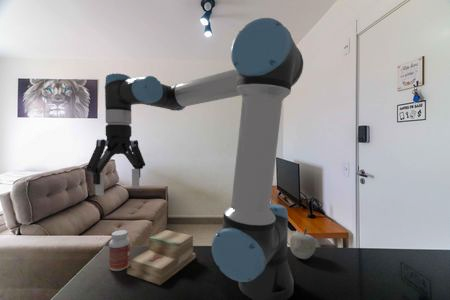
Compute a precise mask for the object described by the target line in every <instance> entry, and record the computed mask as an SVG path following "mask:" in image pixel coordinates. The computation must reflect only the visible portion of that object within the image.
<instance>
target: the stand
mask: <svg viewBox="0 0 450 300" xmlns="http://www.w3.org/2000/svg"><path fill="white" fill-rule="evenodd" d="M148 240H149V249H148V250H146V251H144V252H142V253H141V254H139V255H137V256H135V257H133V258H132V259H131V258H130V266H129V267H127V268H126V274H127V275H130V276H133V277H135V278H138V279H141V280H144V281H146V282H150V283H153V284H156V285H158V286H161V285H162V284H164V283H166V281H168V280H169V279H170V278H172V276H175V274H177V273H178V272H179V271H181V270H182V269H183V268H184V267H185V266H187V265H188V264H190V263H191V262H192V261H193V260H195V258H197V257H196V255H197V254H196V253H195V252H193V251H194V236H193V235H192V234H187V233H182V232H177V231H174V230H173V231H172V230H167V229H164V230H163V231H160V232H158V233H156V234H154V235H152V236H150V237H149V239H148Z"/></svg>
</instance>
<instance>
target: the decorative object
mask: <svg viewBox="0 0 450 300" xmlns="http://www.w3.org/2000/svg"><path fill="white" fill-rule="evenodd" d="M289 246H290V247H289V248H290V251H291V253H292V254H293V255H294V256H295V257H297V258H298V259H302V260H307V259H310V258H311V257H312V255H313V254H314V253H315V252H316V248H317V240H316V239H315V237H314V236H312V235H310V234H307V228H304V230H303V232H301V231H295V232H293V233H292V234H291V235H290V238H289Z"/></svg>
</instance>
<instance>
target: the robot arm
mask: <svg viewBox="0 0 450 300" xmlns="http://www.w3.org/2000/svg"><path fill="white" fill-rule="evenodd" d="M230 58H231V62H232V65H233V67H234V68H233V69H231V70H226V71H223V72H218V73H216V74H212V75H209V76H204V77H201V78H197V79H194V80H190V81H186V82H181V83H178V84H175V85H166V84H163V83H161V81H160V80H158V78H156V77H155V76H153V75H142V76H139V77H135V78H134V77H133V78H131V77H130V76H129V75H127V74H123V73H118V72H117V73H108V74H107V75H106V76H105V82H104V83H105V84H104V93H105V94H104V96H105V97H104V98H105V101H104V103H105V124H106V125H105V136H106V140H105V138H103V139H96V142H95V148H94V150H93V153H92V155H91V157H90V159H89V162H88V164H87V165H86V168H85V171H86V172H89V173H92V183H93V185H94V187H95V189H94V191H95V193H94V195H95V196H99V197H103V196H105V182H104V181H105V179H104V178H105V177H104V176H105V175H104V172H102V171H103V170H104V169H105V167H106V166H107V165H108V163H109V162H110V160H111V159H112V158H113V156H115V155H124V156H125V158H126V159H127V160H128V162H129V163H130V164H131V165H132V167H133V168H131V188H132V189H134V188H135V189H139V188H140V178H141V169H142V170H143V169H144V167H145V166H146V162H145V160H144V157H143V155H142V152H141V149H140V147H139V141H138V140H137V139H131V137H132V125H131V124H132V105H133V106H134V105H146V106H151V107H156V108H160V109H165V110H170V111H182V110H184V109H185V108H186V107H189V106H195V105H199V104H205V103H209V102H210V103H211V102H214V101H219V100H225V99H229V98H235V97H239V96H241V98H242V101H241V109H240V120H239V129H238V139H237V148H236V156H235V157H236V158H235V165H234V166H235V167H234V174H233V186H232V194H231V203H230V204H229V205H228V206H227V207H225V208H224V210H223V216H222V217H223V219H222V225H221V226H222V227H221V229H220V230H218V232H217V233H216V234H215V235H214V237H213V239H212V243H211V254H212V257H213V260H214V262H215V264H216V266H218V268H219V270H220V271H221V272H222V274H224V275H225V276H226V277H228V278H229V279H231V280H233V281H236V282H238V287H239V290H240V292H241V293H242V294H243V295H245V296H246V297H247V298H249V299H251V300H289V299H290V298H291V297H292V296H293V294H294V289H295V288H294V284H295V283H294V278H293V275H292V271H291V269H290V266H289V261H288V235H289V234H288V232H289V231H288V229H289V227H288V226H289V215H288V209H287V207H285V206H284V205H282V204H278V203H273V202H271V201H272V200H271V199H272V191H273V182H274V176H275V175H274V174H275V166H276V160H277V159H276V158H277V148H278V141H279V133H280V131H279V130H280V123H281V115H282V108H283V107H282V105H283V101H284V99H286V98H287V97H288V96H290V95H291V91H292V87H294V85H296V83H297V82H298V81H299V80H300V77H301V75H302V73H303V70H304V59H303V54H302V53H301V51H300V49H299V47H298V46H297V45H296V43H295V41H294V40H293V38H292V34H291V31H289V29H288V28H287V27H286V26H285V25H283V24H282V22H281V21H279V20H278V19H277V20H276V19H275V18H271V17H259V18H257V19H255V20H254V19H253V20H252V21H250V22H248V23H247V24H245V25H244V27H243V28H242V29H241V30H239V31H238V33H237V34H236V36H235V37H234V39H233V42H232V44H231V48H230ZM106 147H107V148H106Z"/></svg>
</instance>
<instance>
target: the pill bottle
mask: <svg viewBox="0 0 450 300" xmlns="http://www.w3.org/2000/svg"><path fill="white" fill-rule="evenodd" d="M128 233H129V232H128V230H126V229H119V230H116V231H113V232H111V240H109V242H108V256H109V257H108V265H109V266H108V267H109V270H111V271H114V272H120V271H123V270H125V269H126V270H127V269H128V268H129V267H130V266H131V240H130V238H129V237H128V235H129V234H128Z"/></svg>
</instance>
